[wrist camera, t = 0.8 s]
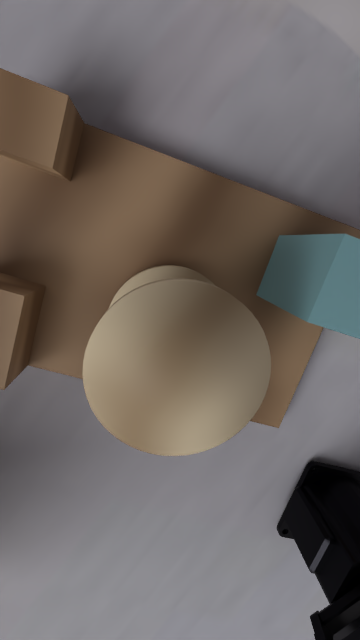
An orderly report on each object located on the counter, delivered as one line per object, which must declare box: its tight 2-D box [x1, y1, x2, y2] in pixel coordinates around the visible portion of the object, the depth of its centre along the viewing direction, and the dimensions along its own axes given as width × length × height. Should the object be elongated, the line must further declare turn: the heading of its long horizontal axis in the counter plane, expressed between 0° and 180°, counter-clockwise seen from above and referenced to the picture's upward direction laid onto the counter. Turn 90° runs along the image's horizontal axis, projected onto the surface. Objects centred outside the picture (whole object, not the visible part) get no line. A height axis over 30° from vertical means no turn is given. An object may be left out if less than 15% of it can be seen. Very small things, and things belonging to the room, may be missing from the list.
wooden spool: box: [83, 265, 271, 456], centre depth 15 cm, size 7×7×7 cm
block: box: [256, 234, 360, 339], centre depth 15 cm, size 4×4×6 cm
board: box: [0, 68, 360, 428], centre depth 16 cm, size 20×13×4 cm, turn 72°
